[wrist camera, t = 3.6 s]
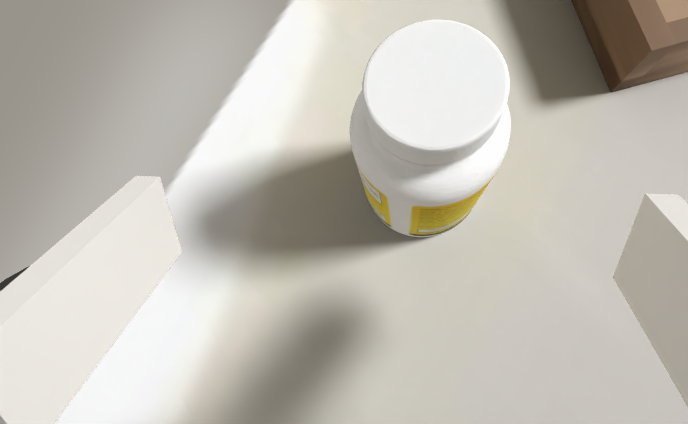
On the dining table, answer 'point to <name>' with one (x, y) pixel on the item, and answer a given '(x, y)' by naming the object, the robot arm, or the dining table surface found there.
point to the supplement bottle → (430, 125)
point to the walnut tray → (636, 38)
